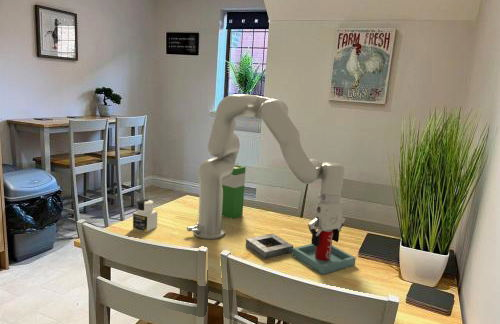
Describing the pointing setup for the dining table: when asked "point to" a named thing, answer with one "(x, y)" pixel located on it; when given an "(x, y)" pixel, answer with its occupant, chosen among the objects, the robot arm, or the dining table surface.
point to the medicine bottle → (145, 216)
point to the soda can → (324, 246)
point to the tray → (335, 263)
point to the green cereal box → (233, 193)
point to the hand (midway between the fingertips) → (324, 242)
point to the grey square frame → (277, 250)
